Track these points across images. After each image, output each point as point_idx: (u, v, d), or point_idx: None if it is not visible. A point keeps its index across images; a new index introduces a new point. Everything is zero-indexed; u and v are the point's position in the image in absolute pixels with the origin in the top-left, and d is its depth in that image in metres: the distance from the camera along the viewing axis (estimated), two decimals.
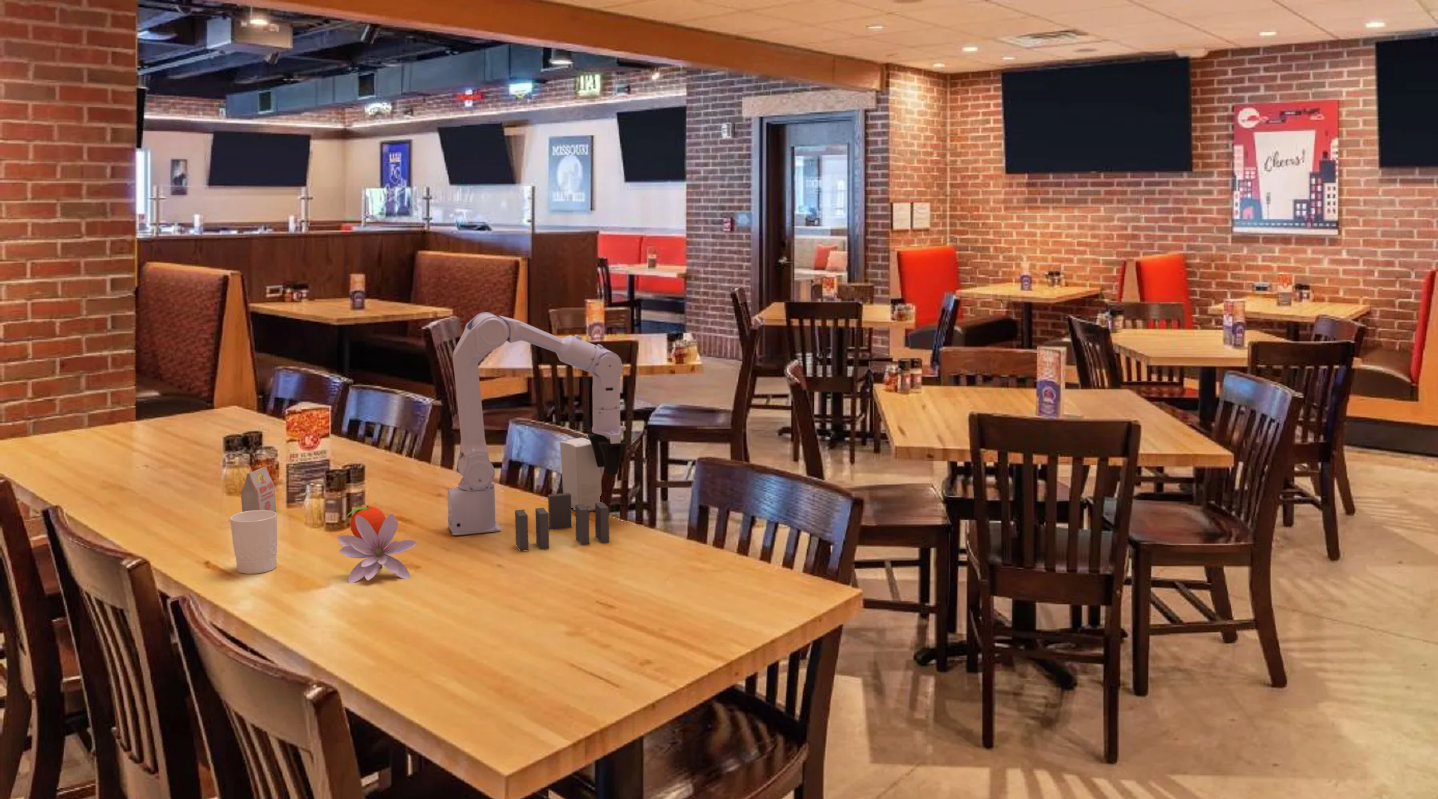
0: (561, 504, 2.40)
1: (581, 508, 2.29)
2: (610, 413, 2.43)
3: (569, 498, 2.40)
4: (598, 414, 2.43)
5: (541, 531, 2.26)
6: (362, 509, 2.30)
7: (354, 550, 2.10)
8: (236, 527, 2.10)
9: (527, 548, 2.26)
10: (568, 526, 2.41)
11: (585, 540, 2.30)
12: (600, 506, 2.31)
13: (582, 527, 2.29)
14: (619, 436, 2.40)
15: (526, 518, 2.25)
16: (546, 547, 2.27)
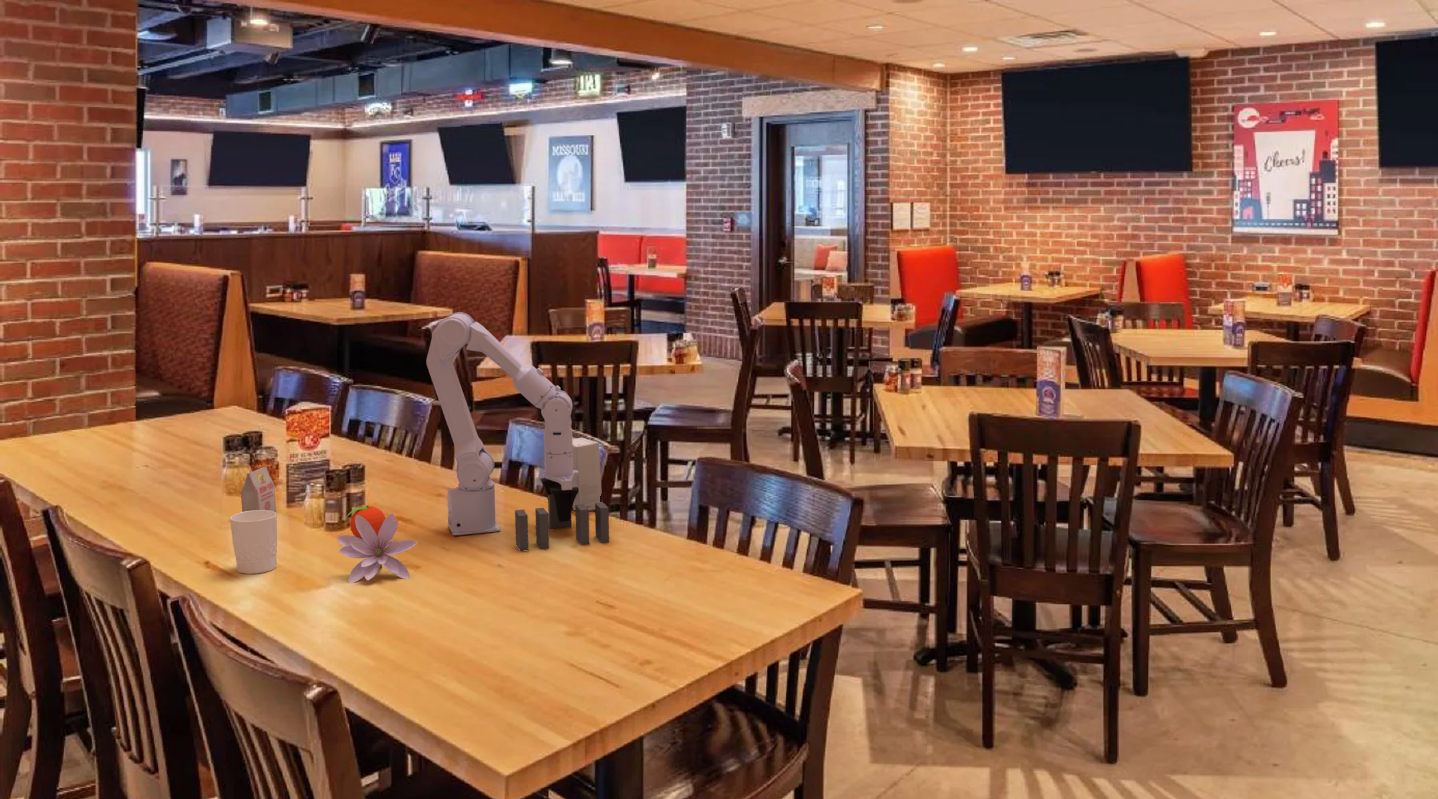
0: None
1: (581, 508, 2.29)
2: (562, 458, 2.36)
3: None
4: (549, 459, 2.36)
5: (541, 531, 2.26)
6: (362, 509, 2.30)
7: (354, 550, 2.10)
8: (236, 527, 2.10)
9: (527, 548, 2.26)
10: (568, 526, 2.41)
11: (585, 540, 2.30)
12: (600, 506, 2.31)
13: (582, 527, 2.29)
14: (570, 482, 2.33)
15: (526, 518, 2.25)
16: (546, 547, 2.27)
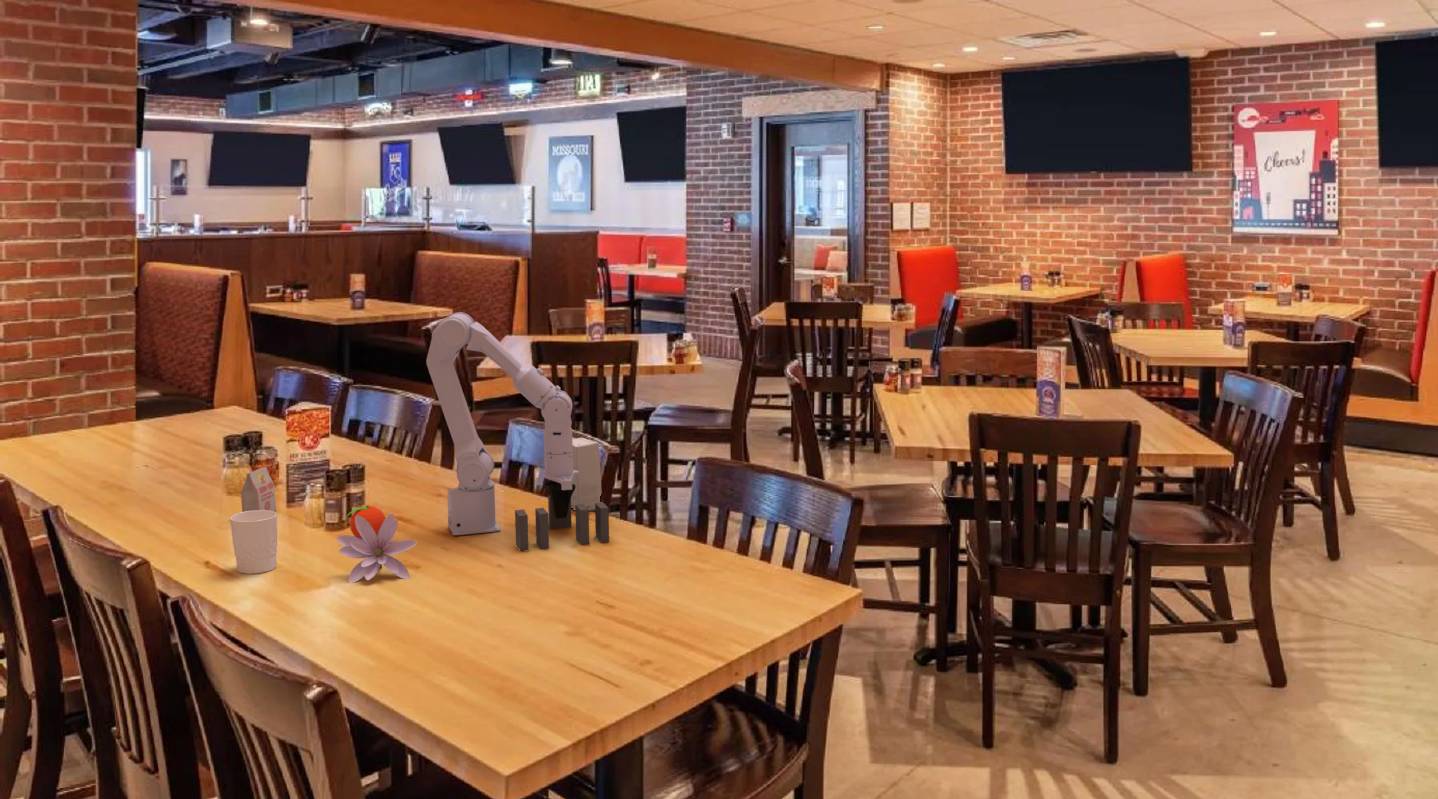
0: None
1: (581, 508, 2.29)
2: (562, 458, 2.36)
3: None
4: (549, 459, 2.36)
5: (541, 531, 2.26)
6: (362, 509, 2.30)
7: (354, 550, 2.10)
8: (236, 527, 2.10)
9: (527, 548, 2.26)
10: (568, 526, 2.41)
11: (585, 540, 2.30)
12: (600, 506, 2.31)
13: (582, 527, 2.29)
14: (570, 482, 2.33)
15: (526, 518, 2.25)
16: (546, 547, 2.27)
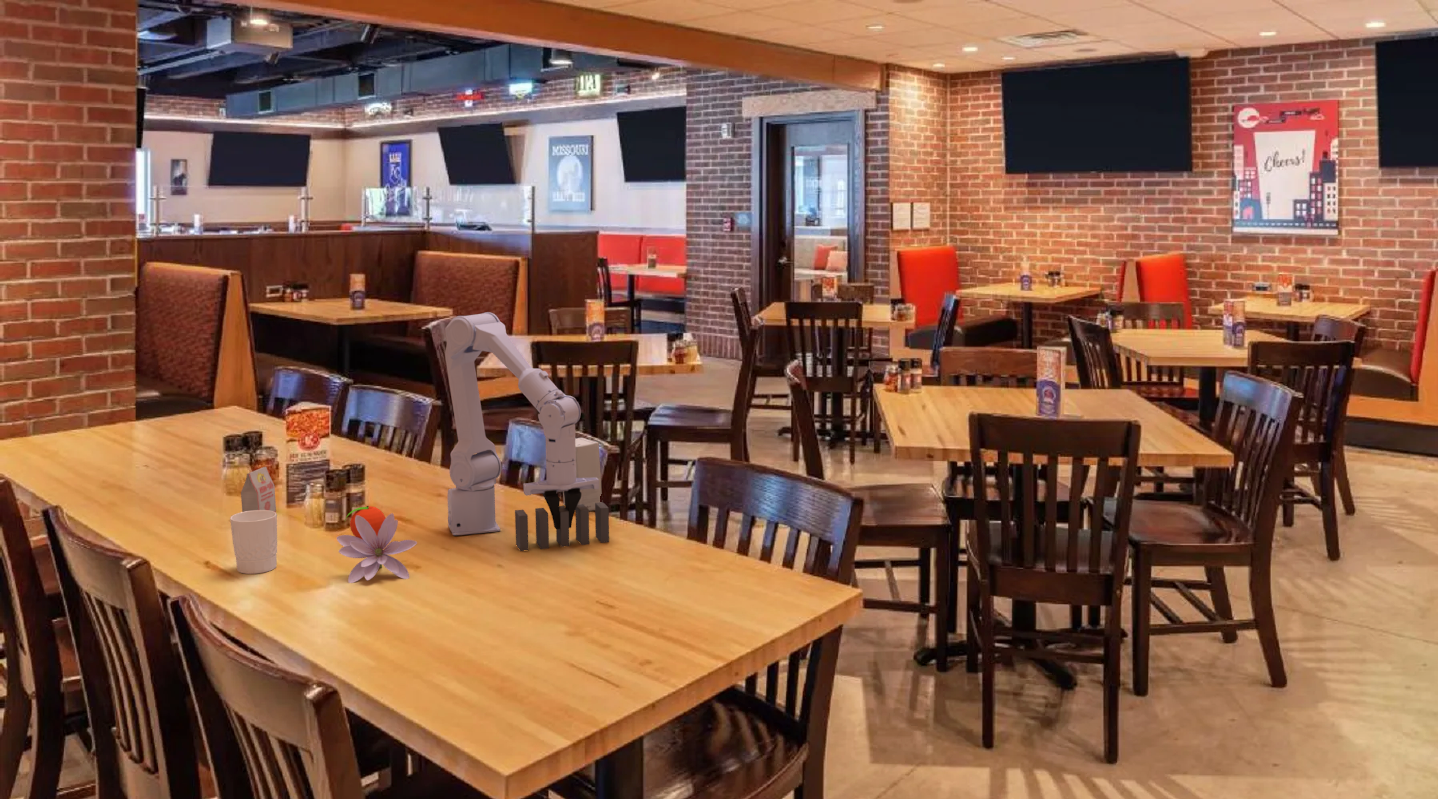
0: None
1: (581, 508, 2.29)
2: (546, 465, 2.26)
3: (560, 515, 2.27)
4: None
5: (541, 531, 2.26)
6: (362, 509, 2.30)
7: (354, 550, 2.10)
8: (236, 527, 2.10)
9: (527, 548, 2.26)
10: (560, 544, 2.29)
11: (585, 540, 2.30)
12: (600, 506, 2.31)
13: (582, 527, 2.29)
14: (525, 488, 2.25)
15: (526, 518, 2.25)
16: (546, 547, 2.27)
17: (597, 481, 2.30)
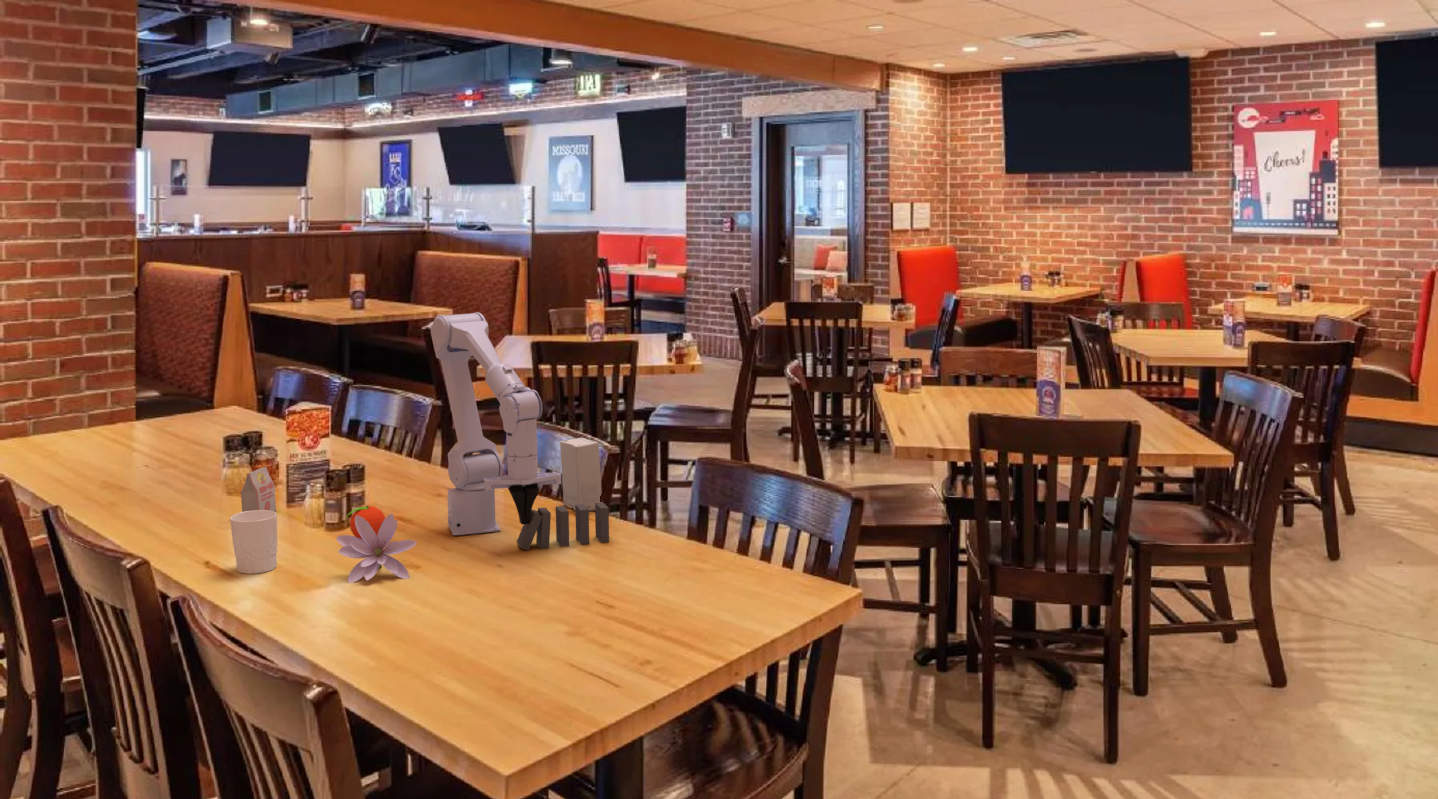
0: (558, 518, 2.29)
1: (581, 508, 2.29)
2: (507, 459, 2.24)
3: (560, 515, 2.27)
4: None
5: (542, 530, 2.26)
6: (362, 509, 2.30)
7: (353, 550, 2.10)
8: (236, 527, 2.10)
9: (528, 548, 2.26)
10: (560, 544, 2.29)
11: (585, 540, 2.30)
12: (600, 506, 2.31)
13: (582, 527, 2.29)
14: (485, 483, 2.22)
15: (539, 519, 2.26)
16: (546, 547, 2.27)
17: (559, 476, 2.27)
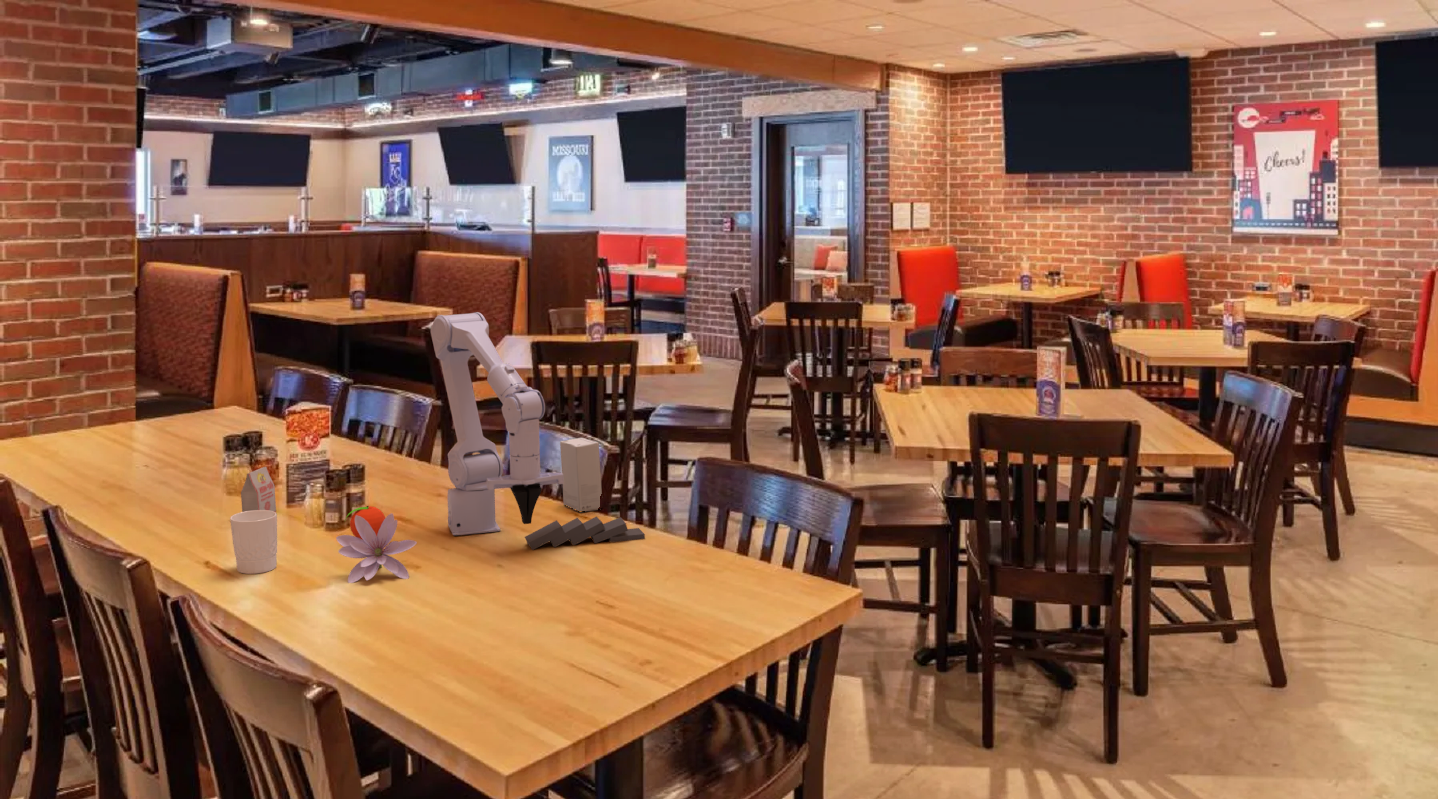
0: (591, 523, 2.32)
1: None
2: (510, 459, 2.24)
3: (598, 523, 2.30)
4: None
5: (567, 532, 2.28)
6: (362, 509, 2.30)
7: (353, 550, 2.10)
8: (236, 527, 2.10)
9: (533, 548, 2.26)
10: None
11: (597, 538, 2.30)
12: None
13: (609, 531, 2.31)
14: (488, 482, 2.22)
15: (561, 533, 2.28)
16: (554, 544, 2.27)
17: (562, 476, 2.27)
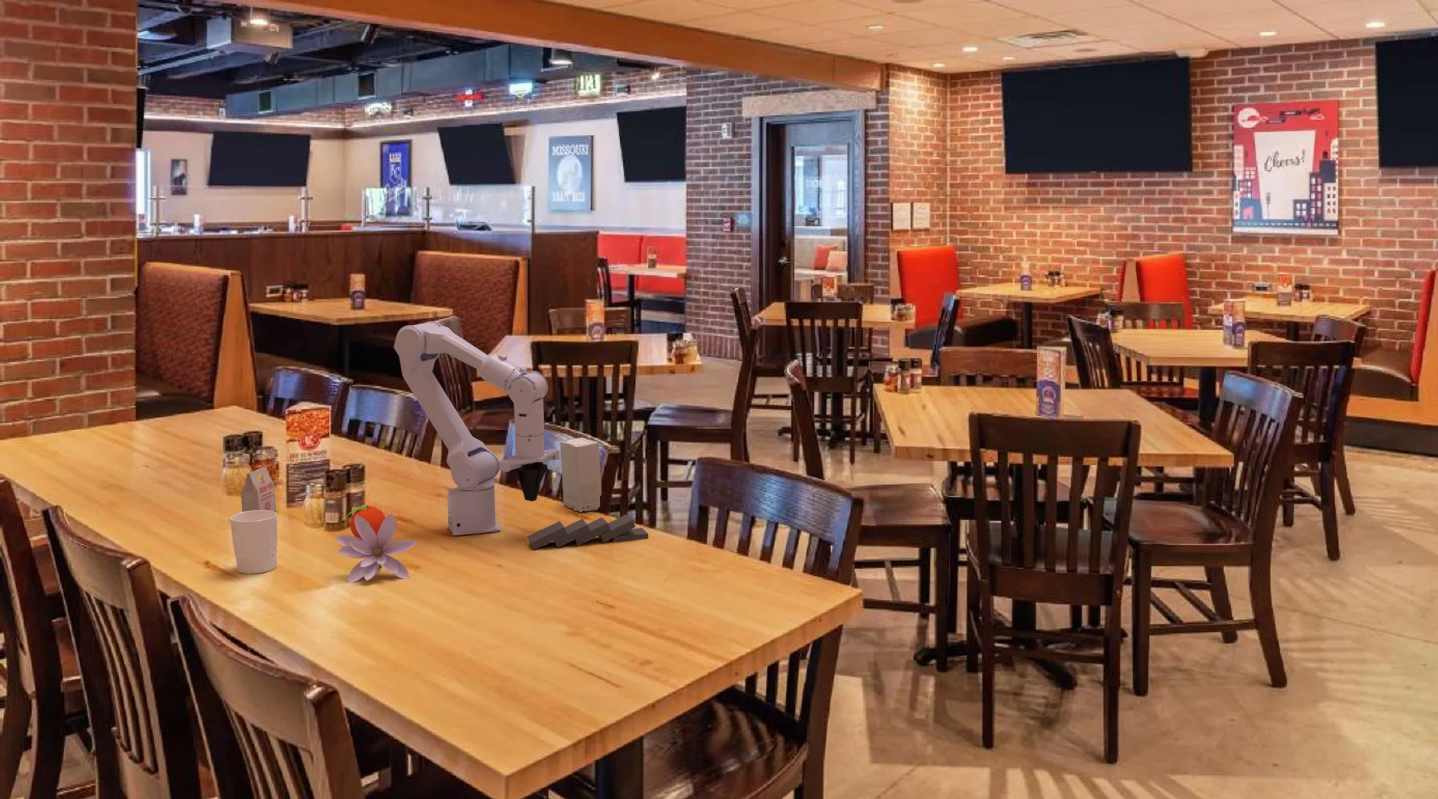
0: (596, 524, 2.32)
1: (631, 520, 2.33)
2: (519, 440, 2.31)
3: (603, 524, 2.31)
4: None
5: (571, 533, 2.28)
6: (362, 509, 2.30)
7: (353, 550, 2.10)
8: (236, 527, 2.10)
9: (535, 548, 2.26)
10: None
11: (605, 537, 2.31)
12: None
13: (617, 528, 2.31)
14: (505, 464, 2.28)
15: (564, 534, 2.28)
16: (557, 544, 2.27)
17: (558, 451, 2.39)
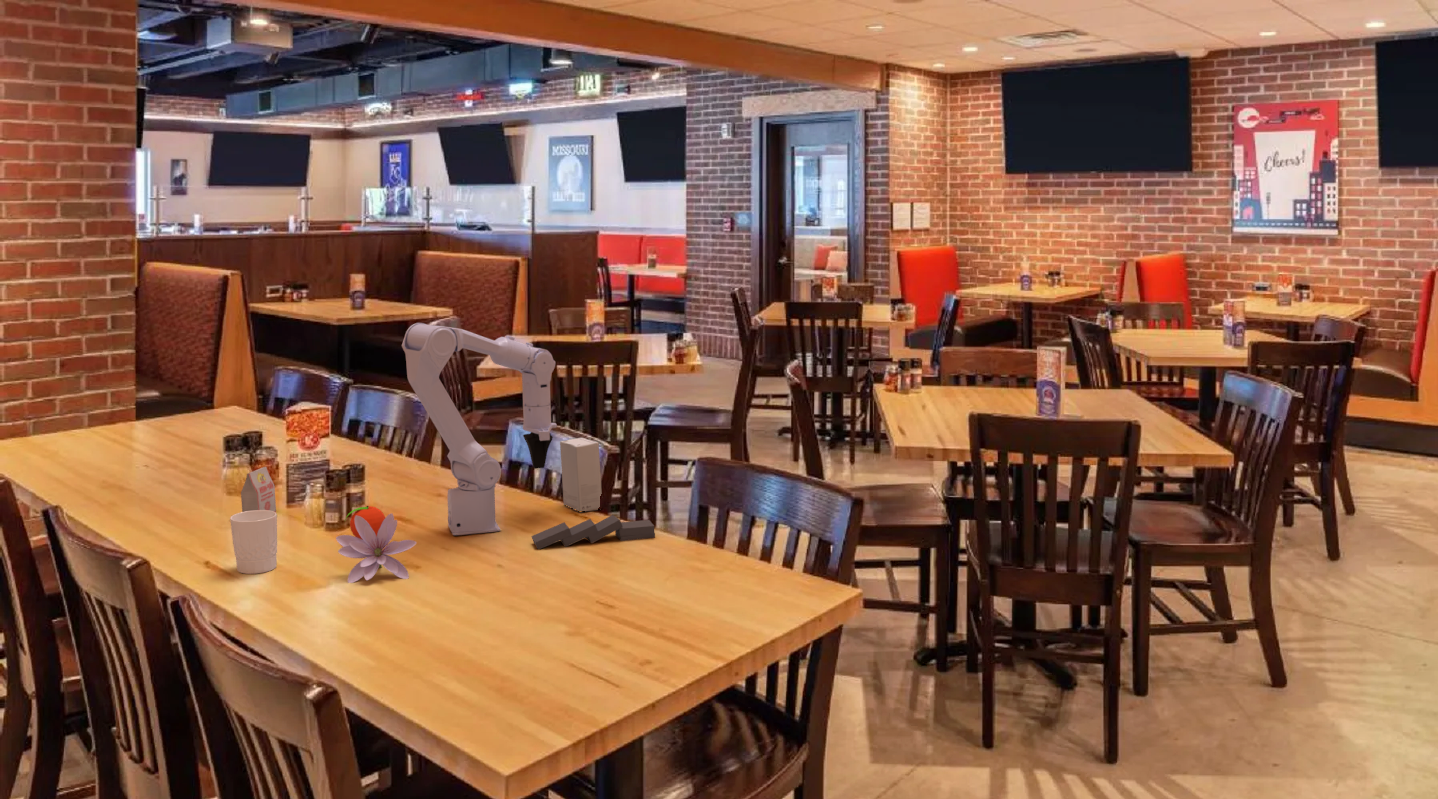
0: (608, 521, 2.33)
1: None
2: (540, 410, 2.44)
3: (615, 521, 2.32)
4: (528, 411, 2.44)
5: (579, 533, 2.29)
6: (362, 509, 2.30)
7: (353, 550, 2.10)
8: (236, 527, 2.10)
9: (539, 547, 2.26)
10: None
11: (623, 532, 2.32)
12: None
13: (637, 528, 2.33)
14: (548, 433, 2.41)
15: (568, 535, 2.28)
16: (565, 544, 2.28)
17: None
